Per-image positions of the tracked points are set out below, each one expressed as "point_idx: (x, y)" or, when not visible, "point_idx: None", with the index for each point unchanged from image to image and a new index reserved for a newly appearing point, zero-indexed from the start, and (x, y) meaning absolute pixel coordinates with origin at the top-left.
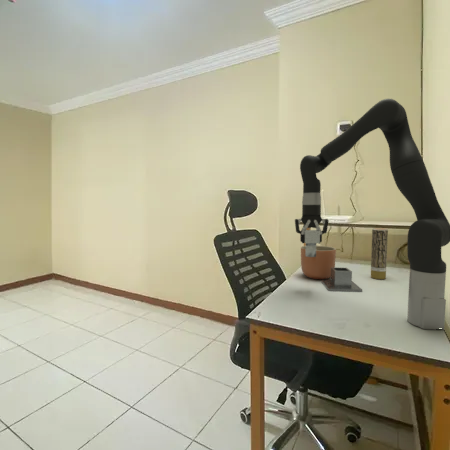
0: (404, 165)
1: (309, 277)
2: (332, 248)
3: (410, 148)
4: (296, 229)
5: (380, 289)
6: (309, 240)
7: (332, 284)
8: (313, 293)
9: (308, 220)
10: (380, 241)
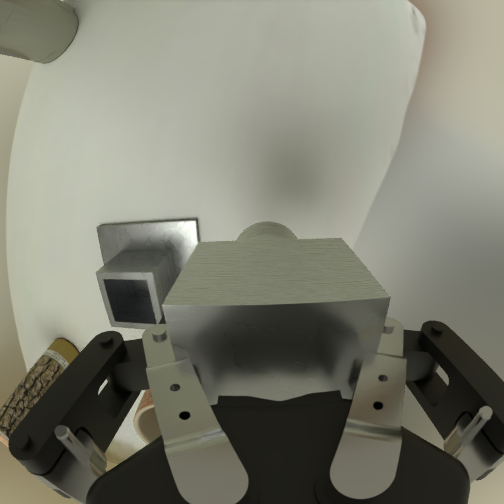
0: None
1: None
2: (148, 439)
3: None
4: (463, 346)
5: (60, 257)
6: (303, 248)
7: (175, 272)
8: (255, 182)
9: (382, 480)
10: (13, 406)
